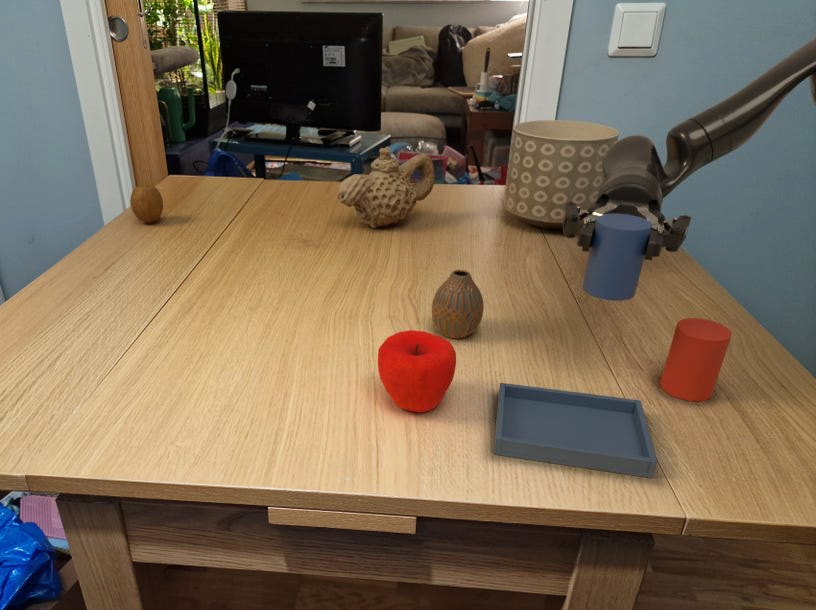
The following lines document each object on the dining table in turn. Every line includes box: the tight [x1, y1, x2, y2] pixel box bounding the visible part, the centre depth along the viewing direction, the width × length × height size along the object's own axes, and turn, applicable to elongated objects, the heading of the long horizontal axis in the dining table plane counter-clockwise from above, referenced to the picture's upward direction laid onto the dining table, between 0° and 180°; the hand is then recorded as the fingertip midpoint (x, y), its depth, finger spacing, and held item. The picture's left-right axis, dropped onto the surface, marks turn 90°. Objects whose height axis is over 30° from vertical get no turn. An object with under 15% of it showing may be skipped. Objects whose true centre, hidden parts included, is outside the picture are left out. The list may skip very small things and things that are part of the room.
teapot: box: [337, 146, 436, 229], centre depth 129 cm, size 21×12×15 cm, turn 118°
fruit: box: [129, 182, 164, 225], centre depth 131 cm, size 6×6×8 cm
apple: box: [377, 329, 457, 413], centre depth 74 cm, size 9×9×8 cm
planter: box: [503, 119, 620, 230], centre depth 129 cm, size 19×19×18 cm
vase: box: [431, 269, 485, 339], centre depth 89 cm, size 7×7×9 cm
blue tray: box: [493, 382, 658, 479], centre depth 70 cm, size 15×11×2 cm
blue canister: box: [581, 214, 652, 302], centre depth 72 cm, size 6×6×8 cm
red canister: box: [659, 317, 733, 402], centre depth 77 cm, size 6×6×8 cm
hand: (617, 246), depth 70 cm, fingers closed on blue canister, 5 cm apart
